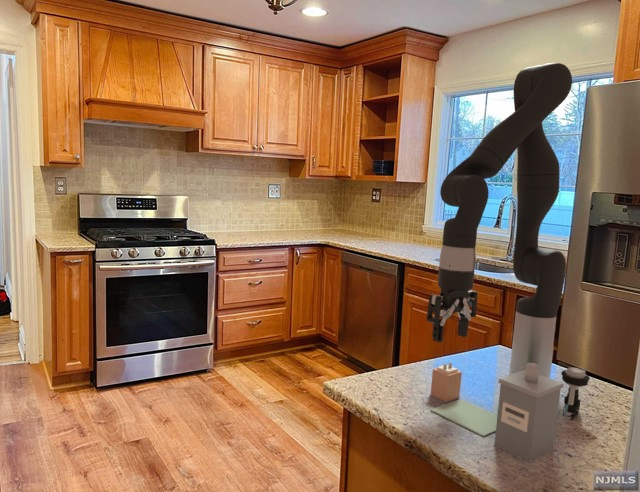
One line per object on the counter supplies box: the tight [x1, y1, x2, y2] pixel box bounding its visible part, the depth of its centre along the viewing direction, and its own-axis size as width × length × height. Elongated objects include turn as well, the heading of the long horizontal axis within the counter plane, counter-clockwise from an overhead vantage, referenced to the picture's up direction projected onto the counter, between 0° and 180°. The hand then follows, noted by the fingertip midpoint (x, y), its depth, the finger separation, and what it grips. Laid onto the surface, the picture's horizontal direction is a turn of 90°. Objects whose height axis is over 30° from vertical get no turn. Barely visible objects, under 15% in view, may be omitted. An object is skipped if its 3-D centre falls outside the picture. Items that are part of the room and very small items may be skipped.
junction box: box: [493, 363, 565, 463], centre depth 95 cm, size 9×8×16 cm
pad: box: [430, 398, 498, 438], centre depth 107 cm, size 10×13×1 cm
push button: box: [560, 366, 591, 421], centre depth 109 cm, size 7×5×10 cm
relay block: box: [430, 362, 463, 403], centre depth 117 cm, size 4×4×8 cm
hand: (450, 338), depth 116 cm, fingers open, 8 cm apart
